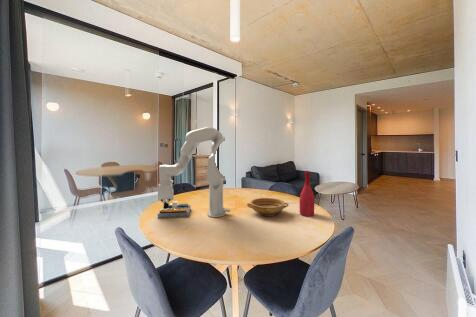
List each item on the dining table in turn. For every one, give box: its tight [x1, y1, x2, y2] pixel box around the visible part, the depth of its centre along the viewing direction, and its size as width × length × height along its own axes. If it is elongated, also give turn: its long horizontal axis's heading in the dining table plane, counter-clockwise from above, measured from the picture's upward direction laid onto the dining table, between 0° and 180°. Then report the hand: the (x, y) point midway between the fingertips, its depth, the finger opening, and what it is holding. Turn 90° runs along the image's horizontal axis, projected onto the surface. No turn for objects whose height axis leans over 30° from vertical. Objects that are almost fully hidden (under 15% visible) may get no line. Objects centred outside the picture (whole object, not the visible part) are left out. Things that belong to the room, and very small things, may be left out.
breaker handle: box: [171, 200, 179, 209], centre depth 152 cm, size 3×4×5 cm
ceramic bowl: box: [246, 197, 290, 217], centre depth 151 cm, size 30×24×8 cm
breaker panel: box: [157, 203, 192, 219], centre depth 152 cm, size 20×16×5 cm
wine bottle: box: [299, 171, 316, 217], centre depth 147 cm, size 10×10×30 cm
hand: (166, 208), depth 151 cm, fingers closed
